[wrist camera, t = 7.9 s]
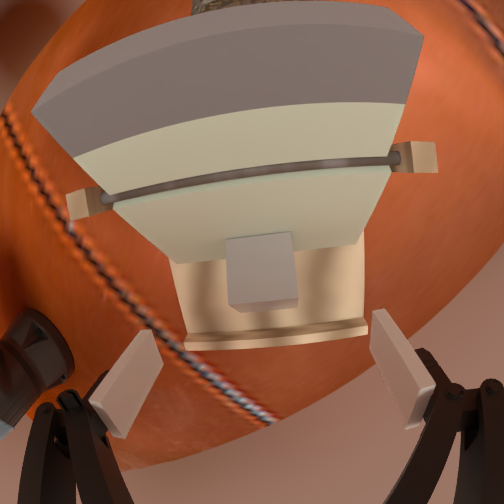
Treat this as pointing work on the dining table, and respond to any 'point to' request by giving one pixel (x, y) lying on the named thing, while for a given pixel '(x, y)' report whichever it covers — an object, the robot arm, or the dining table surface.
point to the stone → (261, 273)
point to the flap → (241, 121)
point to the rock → (224, 4)
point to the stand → (306, 264)
